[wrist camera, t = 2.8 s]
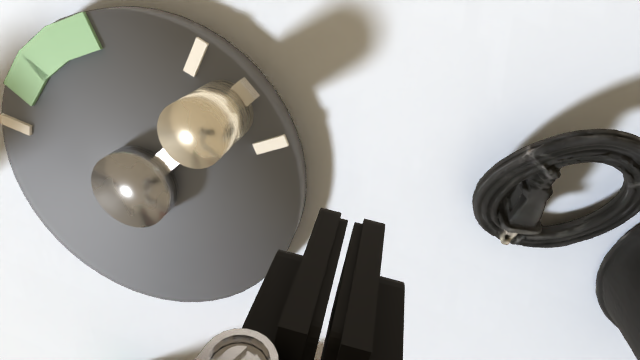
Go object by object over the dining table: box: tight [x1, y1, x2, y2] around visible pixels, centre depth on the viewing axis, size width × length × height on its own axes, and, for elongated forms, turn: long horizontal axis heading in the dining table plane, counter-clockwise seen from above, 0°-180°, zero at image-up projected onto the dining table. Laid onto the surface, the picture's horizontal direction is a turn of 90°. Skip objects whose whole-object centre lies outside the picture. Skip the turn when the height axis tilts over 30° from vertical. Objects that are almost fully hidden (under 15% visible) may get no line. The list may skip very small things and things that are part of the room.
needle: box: [91, 77, 260, 228], centre depth 21 cm, size 11×4×4 cm, turn 130°
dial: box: [0, 7, 306, 302], centre depth 25 cm, size 18×18×2 cm
